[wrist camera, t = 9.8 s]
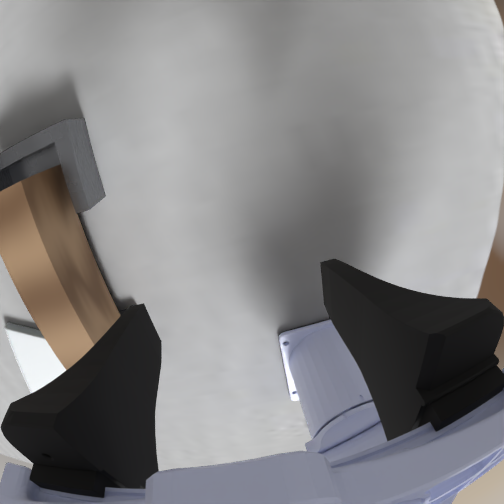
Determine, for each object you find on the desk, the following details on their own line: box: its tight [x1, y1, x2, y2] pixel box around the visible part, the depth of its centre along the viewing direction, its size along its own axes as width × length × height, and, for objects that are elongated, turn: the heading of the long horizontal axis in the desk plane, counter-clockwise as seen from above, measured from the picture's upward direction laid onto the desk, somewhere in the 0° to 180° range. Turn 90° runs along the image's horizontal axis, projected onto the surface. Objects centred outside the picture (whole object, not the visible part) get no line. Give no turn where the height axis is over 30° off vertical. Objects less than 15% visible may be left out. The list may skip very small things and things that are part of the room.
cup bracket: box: [0, 118, 105, 214], centre depth 16 cm, size 6×8×3 cm
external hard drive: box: [4, 322, 66, 393], centre depth 24 cm, size 2×8×12 cm
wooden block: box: [0, 164, 120, 370], centre depth 17 cm, size 14×4×5 cm, turn 11°
